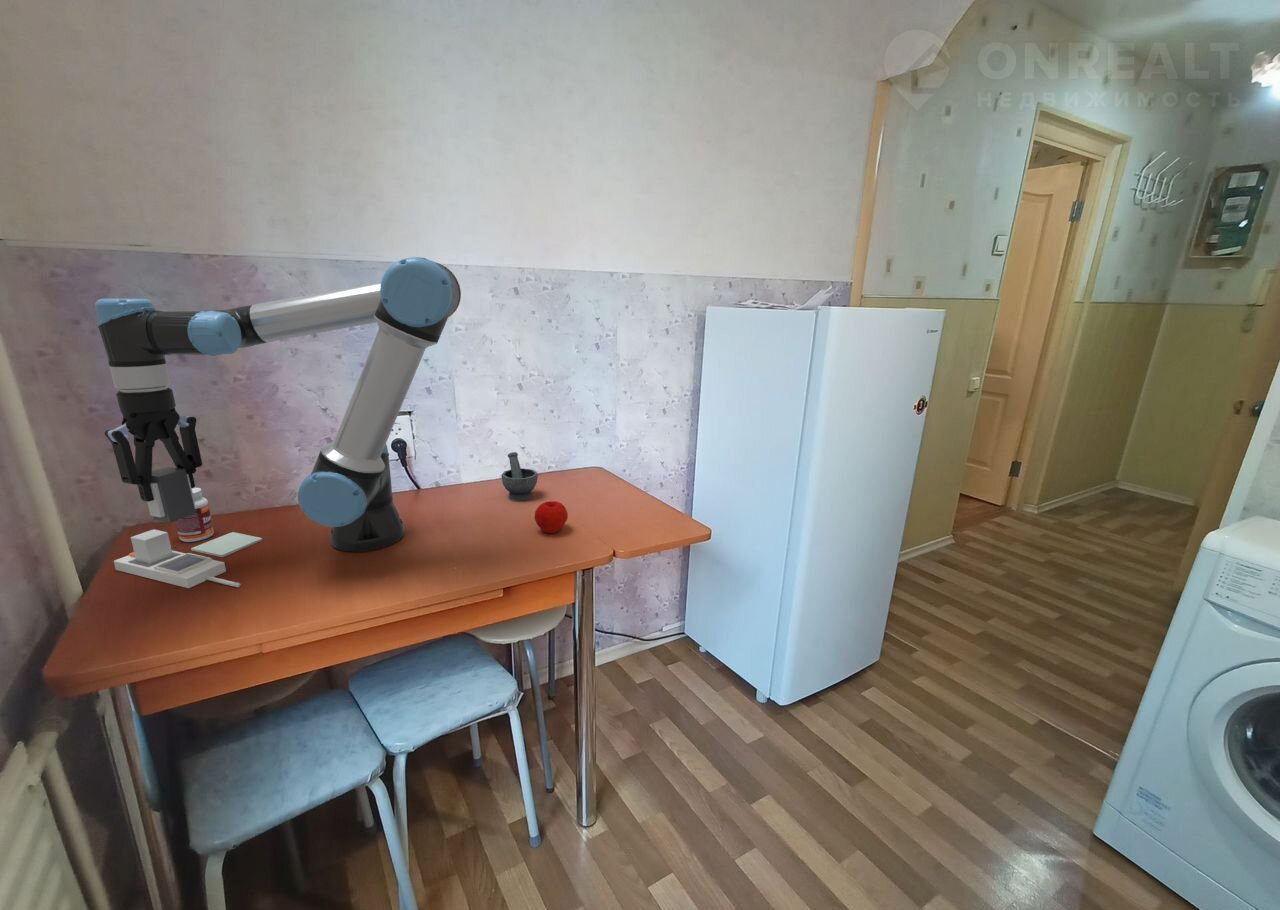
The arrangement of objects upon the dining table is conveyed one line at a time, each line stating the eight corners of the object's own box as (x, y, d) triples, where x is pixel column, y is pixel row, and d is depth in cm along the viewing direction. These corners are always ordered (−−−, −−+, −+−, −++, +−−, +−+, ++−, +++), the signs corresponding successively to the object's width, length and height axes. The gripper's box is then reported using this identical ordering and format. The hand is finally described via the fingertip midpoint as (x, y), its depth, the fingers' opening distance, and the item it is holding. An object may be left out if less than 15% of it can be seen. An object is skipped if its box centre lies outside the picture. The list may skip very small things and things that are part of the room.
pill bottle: (213, 539, 122) (204, 493, 119) (177, 545, 118) (167, 497, 115) (215, 529, 127) (206, 484, 123) (181, 534, 123) (171, 489, 120)
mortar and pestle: (542, 499, 152) (542, 458, 148) (510, 505, 147) (509, 463, 143) (527, 487, 161) (526, 448, 157) (496, 492, 156) (494, 452, 152)
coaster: (262, 540, 122) (262, 538, 122) (222, 557, 114) (221, 555, 113) (232, 534, 124) (232, 532, 124) (191, 550, 116) (190, 548, 116)
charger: (196, 513, 105) (185, 469, 102) (170, 522, 101) (158, 476, 98) (179, 510, 106) (168, 466, 103) (153, 519, 102) (141, 473, 99)
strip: (256, 578, 106) (250, 545, 104) (220, 596, 99) (212, 561, 97) (155, 554, 114) (148, 523, 112) (116, 569, 107) (107, 537, 105)
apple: (555, 521, 137) (555, 493, 135) (574, 531, 132) (574, 502, 130) (528, 529, 132) (527, 501, 130) (547, 540, 126) (547, 511, 124)
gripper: (182, 380, 105) (207, 493, 112) (67, 395, 89) (104, 525, 96) (210, 382, 103) (234, 497, 110) (97, 398, 87) (133, 531, 94)
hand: (173, 510), depth 103 cm, fingers closed on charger, 5 cm apart
